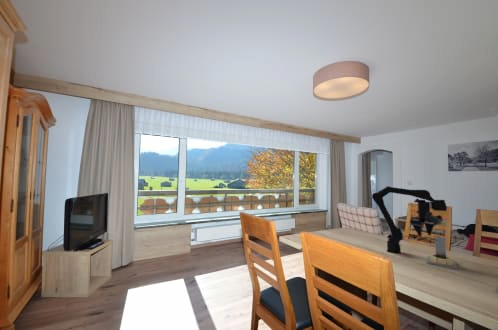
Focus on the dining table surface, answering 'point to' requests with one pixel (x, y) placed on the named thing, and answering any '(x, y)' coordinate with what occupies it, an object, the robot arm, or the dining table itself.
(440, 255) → the shiny metal cylinder
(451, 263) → the nut plate
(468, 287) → the dining table surface
